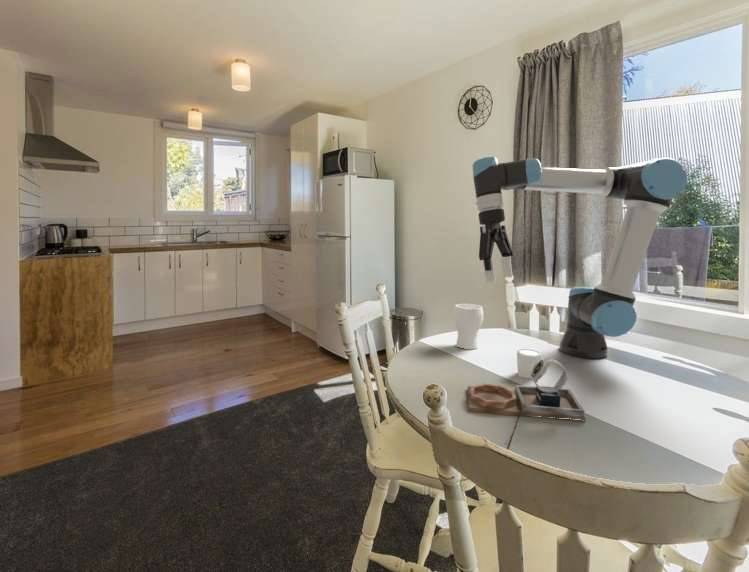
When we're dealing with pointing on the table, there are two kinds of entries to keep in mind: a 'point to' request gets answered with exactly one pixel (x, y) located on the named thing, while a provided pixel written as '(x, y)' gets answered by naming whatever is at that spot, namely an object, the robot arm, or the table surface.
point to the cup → (467, 324)
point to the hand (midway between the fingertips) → (499, 279)
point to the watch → (548, 394)
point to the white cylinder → (527, 362)
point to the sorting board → (521, 402)
